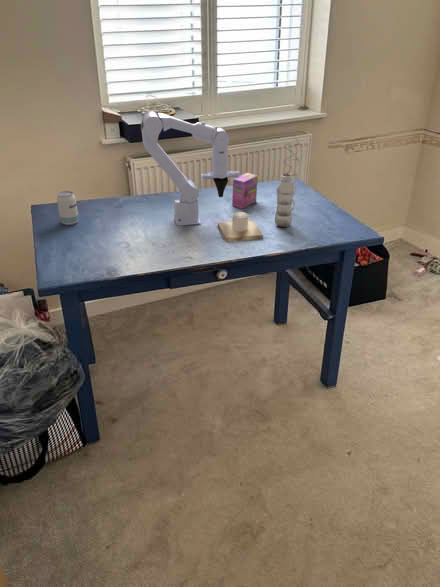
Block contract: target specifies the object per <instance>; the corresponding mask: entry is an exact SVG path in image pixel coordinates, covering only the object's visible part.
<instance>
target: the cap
mask: <svg viewBox="0 0 440 587" xmlns="http://www.w3.org/2000/svg"><path fill="white" fill-rule="evenodd" d="M248 220H249V215H248V213H246V212H243V211H238V212H237V211H236V212H234V213H232V221H231V222H232V228H233V230H234V231H238V232H242V231H246V230H247V229H248Z"/></svg>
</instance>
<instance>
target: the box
mask: <svg viewBox="0 0 440 587" xmlns="http://www.w3.org/2000/svg"><path fill="white" fill-rule="evenodd" d="M258 177H259V176H258V175H257V174H254V173H249V172H246V173H244V174H241V175H239V178H237V177H234V178H232V202H231V205H232V207H234V208H239V209H245V208H247V207H248V206H251V205H253V204H254V203H256V202H257V194H258V193H257V192H258V179H259V178H258Z"/></svg>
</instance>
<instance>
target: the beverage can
mask: <svg viewBox="0 0 440 587" xmlns="http://www.w3.org/2000/svg"><path fill="white" fill-rule="evenodd" d="M56 204H57V209H58V214H59V219H60V223H61V224H62V225H64V226H74V225H76V224H77V223H78V222H79V220H80V219H79V218H80V217H79V212H78V206H77V205H78V204H77V198H76V196H75V194H74V192H73V191H71V190H64V191H59V192H58V193H57V196H56Z"/></svg>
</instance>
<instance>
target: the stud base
mask: <svg viewBox="0 0 440 587" xmlns="http://www.w3.org/2000/svg"><path fill="white" fill-rule="evenodd" d="M217 227H218V229H219V231H220V234H221V235H222V237H223V239H224V241H225V242H237V241H238V242H239V241H249V240H251V241H252V240H260V239H261V240H262V239H263V238H264V234H263V233H262V231H261V230H260V228H259V227H258V225H257V224H256V222H255V221H254V220H253V219H248V229H247V230H246V231H242V232H238V231H234V230H233V228H232V221H221V222H217Z"/></svg>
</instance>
